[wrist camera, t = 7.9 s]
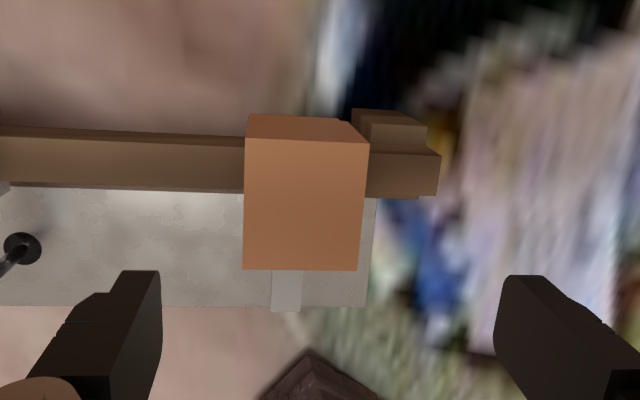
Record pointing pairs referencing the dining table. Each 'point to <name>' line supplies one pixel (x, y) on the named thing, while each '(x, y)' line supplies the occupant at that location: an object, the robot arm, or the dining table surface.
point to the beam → (206, 157)
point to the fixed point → (14, 254)
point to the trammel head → (301, 200)
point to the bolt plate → (149, 247)
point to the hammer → (317, 384)
